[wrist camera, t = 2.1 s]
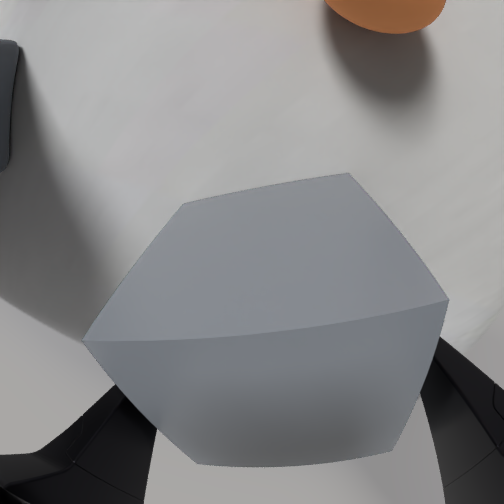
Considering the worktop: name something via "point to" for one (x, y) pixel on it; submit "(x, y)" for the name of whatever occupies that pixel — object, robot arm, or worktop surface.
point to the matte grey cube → (275, 327)
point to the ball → (389, 13)
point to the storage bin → (6, 94)
